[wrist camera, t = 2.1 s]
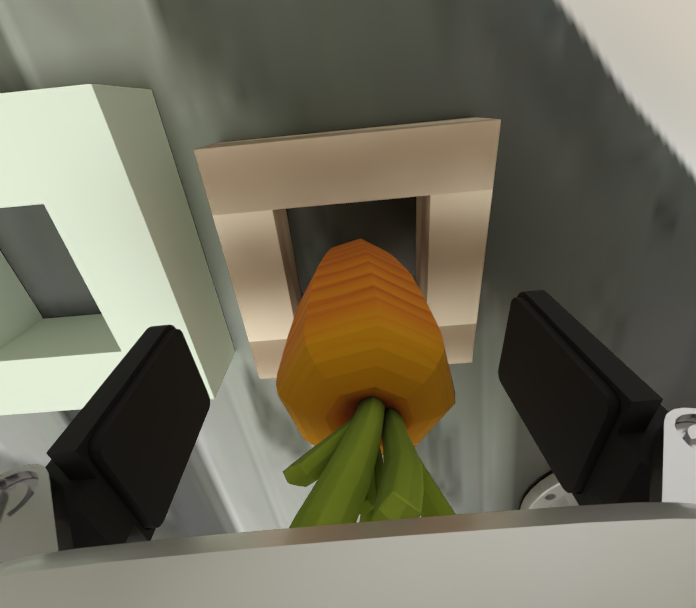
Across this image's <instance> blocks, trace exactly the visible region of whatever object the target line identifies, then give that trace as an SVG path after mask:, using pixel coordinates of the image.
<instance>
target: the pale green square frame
mask: <svg viewBox="0 0 696 608" xmlns="http://www.w3.org/2000/svg"><path fill="white" fill-rule="evenodd" d="M36 204H44V205H45V207H46V209H47V211H48V213H49V215H50V217H51V219H52V220H53V222H54V224H55V226H56V228H57V230H58V232H59V234H60V236H61V237H62V239H63V241H64V243H65V245H66V247H67V249H68V251H69V253H70V254H71V256H72V258H73V260H74V262H75V264H76V266H77V268H78V270H79V272H80V273H81V275H82V277H83V279H84V281H85V283H86V285H87V287H88V289H89V290H90V292H91V294H92V296H93V298H94V300H95V302H96V304H97V306H98V307H99V309H100V311H101V313H102V314H92V315H80V316H69V317H57V318H45V319H43V317H42V316H41V314H40V312H39V311H38V309H37V308H36V306H35V305H34V303H33V301H32V300H31V298H30V297H29V295H28V293H27V292H26V290H25V289H24V287H23V286H22V284H21V282H20V281H19V279H18V278H17V276H16V275H15V273H14V271H13V270H12V268H11V267H10V265H9V264H8V262H7V260H6V259H5V257H4V256H3V254H2V253H1V251H0V415H11V414H24V413H37V412H50V411H63V410H76V409H82V408H83V407H84V406H85V405H86V403H87V402H88V401H89V400H90V398H91V397H92V396H93V395H94V394H95V392H96V391H97V390H98V389H99V387H100V386H101V385H102V384H103V382H104V381H105V380H106V379H107V377H108V376H109V375H110V374H111V373H112V371H113V370H114V369H115V368H116V366H117V365H118V364H119V363H120V361H121V360H122V359H123V358H124V357H125V355H126V354H127V353H128V352H129V350H130V349H131V348H132V347H133V345H134V344H135V343H136V342H137V340H138V339H139V338H140V337H141V336H142V334H143V333H144V332H145V331H146V329H147V328H149V327H151V326H160V325H173V326H174V327H175V328H176V329H180V330H181V331H182V333H183V335H184V337H185V339H186V342H187V344H188V347H189V349H190V351H191V354H192V356H193V358H194V361H195V363H196V366H197V368H198V370H199V373H200V375H201V377H202V380H203V382H204V385H205V387H206V389H207V392H208V394H209V397H210V399H215V397H216V394H217V392H218V390H219V388H220V385H221V383H222V381H223V378H224V376H225V374H226V372H227V369H228V367H229V365H230V362H231V360H232V358H233V356H234V353H235V350H234V346H233V343H232V340H231V337H230V334H229V331H228V328H227V325H226V321H225V318H224V315H223V312H222V309H221V306H220V303H219V300H218V296H217V293H216V290H215V287H214V284H213V281H212V278H211V274H210V271H209V268H208V265H207V262H206V259H205V256H204V253H203V249H202V246H201V243H200V240H199V237H198V234H197V231H196V227H195V224H194V221H193V218H192V215H191V212H190V209H189V206H188V202H187V199H186V196H185V193H184V190H183V187H182V184H181V181H180V177H179V174H178V171H177V168H176V165H175V162H174V159H173V155H172V152H171V149H170V146H169V143H168V140H167V137H166V134H165V130H164V127H163V124H162V121H161V118H160V115H159V112H158V108H157V105H156V102H155V99H154V96H153V93H152V90H151V89H141V88H130V87H120V86H109V85H99V84H84V85H75V86H66V87H56V88H47V89H37V90H28V91H19V92H9V93H0V208H5V207H15V206H26V205H36Z"/></svg>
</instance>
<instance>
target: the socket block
mask: <svg viewBox="0 0 696 608" xmlns="http://www.w3.org/2000/svg"><path fill="white" fill-rule="evenodd" d="M500 124H501V119H490V118H477V117H471V118H461V119H451V120H441V121H431V122H421V123H411V124H401V125H391V126H381V127H371V128H361V129H351V130H341V131H331V132H321V133H311V134H301V135H291V136H281V137H271V138H261V139H251V140H241V141H231V142H221V143H216V144H212V145H209V146H205V147H202V148H198V149H195V150H194V153H195V156H196V160H197V163H198V167H199V170H200V174H201V177H202V181H203V184H204V187H205V191H206V194H207V198H208V201H209V205H210V208H211V212H212V215H213V219H214V222H215V226H216V229H217V233H218V236H219V240H220V243H221V246H222V250H223V253H224V257H225V260H226V264H227V267H228V271H229V274H230V278H231V281H232V285H233V288H234V292H235V295H236V298H237V302H238V305H239V309H240V312H241V316H242V319H243V323H244V326H245V330H246V333H247V337H248V340H249V344H250V347H251V350H252V354H253V357H254V361H255V364H256V368H257V371H258V375H259V378H260V379H265V378H277V373H278V369H279V366H280V362H281V359H282V355H283V352H284V348H285V344H286V341H287V337H288V334H289V331H290V328H291V325H292V322H293V319H294V316H295V313H296V310H297V307H298V305H299V303H300V301H301V299H302V297H301V291H300V285H299V280H298V274H297V269H296V263H295V257H294V252H293V246H292V241H291V235H290V229H289V224H288V218H287V213H286V209H287V208H298V207H309V206H320V205H330V204H341V203H352V202H363V201H373V200H384V199H395V198H406V197H416V268H415V282H416V284H417V286H418V287H419V289H420V291H421V293H422V294H423V296H424V298H425V300H426V302H427V304H428V306H429V308H430V310H431V312H432V314H433V316H434V318H435V320H436V322H437V324H438V326H439V329H440V331H441V334H442V338H443V342H444V346H445V351H446V355H447V360H448V364H458V363H471V362H472V357H473V348H474V340H475V332H476V324H477V315H478V307H479V299H480V290H481V282H482V274H483V266H484V257H485V249H486V241H487V232H488V224H489V216H490V207H491V199H492V191H493V183H494V174H495V166H496V158H497V149H498V141H499V133H500Z"/></svg>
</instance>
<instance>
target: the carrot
mask: <svg viewBox="0 0 696 608" xmlns="http://www.w3.org/2000/svg"><path fill="white" fill-rule="evenodd" d="M276 386H277V391H278V396H279V397H280V399H281V401H282V402H283V404H284V406H285V408H286V409H287V411H288V413H289V414H290V416H291V418H292V420H293V421H294V423H295V425H296V426H297V428H298V430H299V431H300V433H301V435H302V437H303V438H304V439H305V440H306V441H308V442H309V443H311V444H313V445H316V446H314V447H313V448H312V449H310V450H309V451H308V452H307V453H305V454H304V455H303V456H302V457H300V458H299V459H298V460H297V461H295V462H294V463H293V464H292V465H290V466H289V467H288V468H287V469H285V470H284V471H283V473H284V475H285V478H286V480H287V482H288V483H290V484H293V485H297V486H304V487H307V486H308V485H310V484H311V483H313V482H315V481H316V480H318V481H317V482H316V484H315V485H314V487H313V489H312V490H311V492H310V494H309V495H308V497H307V498H306V500H305V502H304V503H303V505H302V507H301V508H300V510H299V511H298V513H297V515H296V516H295V518H294V520H293V522H292V524H291V525H290V527H289V528H300V527H312V526H323V525H335V524H347V523H356V521H357V518H358V516H359V514H361V516H360V522H372V521H384V520H396V519H408V518H419V517H420V515H421V516H422V517H433V516H446V515H456V514H455V513H454V511H453V510H452V508H451V506H450V505H449V503H448V502H447V500H446V499H445V497H444V496H443V494H442V492H441V491H440V489H439V488H438V486H437V485H436V483H435V482H434V480H433V479H432V477H431V475H430V474H429V472H428V471H427V469H426V468H425V466H424V464H423V463H422V461H421V460H420V458H419V456H418V454H417V452H416V449H415V446H416V445H417V444H418V443H419V442H420V441H421V440H422V439H423V438H424V437H425V435H426V434H427V433H428V432H429V431H430V430H431V429H432V428H433V427H434V426H435V425H436V423H437V422H438V421H439V420H440V419H441V418H442V417H443V416H444V415H445V414H446V413H447V411H448V410H449V409H450V408H451V407H452V406H453V405H454V404H455V391H454V386H453V382H452V377H451V373H450V368H449V364H448V360H447V355H446V351H445V346H444V342H443V338H442V334H441V331H440V329H439V326H438V324H437V322H436V320H435V318H434V316H433V314H432V312H431V310H430V308H429V306H428V304H427V302H426V300H425V298H424V296H423V294H422V293H421V291H420V289H419V287H418V286H417V284H416V282H415V280H414V279H413V277H412V275H411V273H410V272H409V271H408V270H407V269H406V268H405V267H404V266H403V265H402V264H401V263H400V262H399V261H398V260H397V259H396V258H395V257H394V256H392V255H391V254H390V253H389V252H387V251H385V250H383V249H381V248H379V247H377V246H375V245H373V244H371V243H369V242H367V241H365V240H363V239H357V240H353V241H350V242H347V243H344V244H341V245H338V246H335V247H332V248H330V250H329V251H328V252H327V253H326V254H325V256H324V257H323V259H322V261H321V262H320V264H319V266H318V267H317V269H316V271H315V273H314V275H313V277H312V279H311V281H310V283H309V285H308V287H307V289H306V291H305V293H304V295H303V297H302V299H301V301H300V303H299V305H298V307H297V310H296V313H295V316H294V319H293V322H292V325H291V328H290V331H289V334H288V337H287V341H286V344H285V348H284V352H283V355H282V359H281V362H280V366H279V369H278V373H277V381H276ZM382 455H383V458H382ZM383 459H384V463H383ZM360 522H359V523H360Z"/></svg>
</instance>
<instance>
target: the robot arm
mask: <svg viewBox="0 0 696 608" xmlns="http://www.w3.org/2000/svg"><path fill="white" fill-rule="evenodd" d="M498 374H499V379H500V382H501V384H502V386H503V387H504V389H505V391H506V392H507V394H508V396H509V398H510V399H511V401H512V403H513V404H514V406H515V408H516V410H517V411H518V413H519V415H520V416H521V418H522V420H523V422H524V423H525V425H526V427H527V428H528V430H529V432H530V434H531V435H532V437H533V439H534V440H535V442H536V444H537V445H538V447H539V449H540V451H541V452H542V454H543V456H544V457H545V459H546V461H547V463H548V464H549V466H550V468H551V469H552V471H553V473H552V474H550V475H549V476H547V477H546V478H544V479H543V480H541V481H540V482H539V483H538V484H536V485H535V486H534V487H533V488H532V489H531V490H530V491H529V493H528V494H527V495H526V496H525V498H524V500H523V502H522V505H521V508H520V510H511V511H498V512H485V513H472V514H459V515H446V516H433V517H421V518H408V519H396V520H384V521H372V522H360V523H347V524H335V525H323V526H312V527H300V528H288V529H276V530H264V531H253V532H242V533H230V534H219V535H208V536H196V537H185V538H174V539H162V540H152V541H150V540H151V538H152V536H153V533H154V531H155V528H157V527H159V526H161V524H162V523H163V521H164V519H165V517H166V514H167V512H168V509H169V507H170V504H171V502H172V499H173V497H174V494H175V492H176V489H177V487H178V484H179V482H180V479H181V477H182V475H183V472H184V470H185V467H186V465H187V462H188V460H189V457H190V455H191V452H192V450H193V447H194V445H195V442H196V440H197V437H198V435H199V432H200V430H201V427H202V425H203V422H204V420H205V417H206V415H207V412H208V410H209V407H210V397H209V394H208V392H207V389H206V387H205V385H204V382H203V380H202V377H201V375H200V373H199V370H198V368H197V366H196V363H195V361H194V358H193V356H192V354H191V351H190V349H189V347H188V344H187V342H186V339H185V337H184V335H183V333H182V331H181V330H180V329H176V328H175V327H174V326H173V325H160V326H151V327H149V328H147V329H146V331H145V332H144V333H143V334H142V336H141V337H140V338H139V339H138V340H137V342H136V343H135V344H134V345H133V347H132V348H131V349H130V350H129V352H128V353H127V354H126V355H125V357H124V358H123V359H122V360H121V361H120V363H119V364H118V365H117V366H116V368H115V369H114V370H113V371H112V373H111V374H110V375H109V376H108V377H107V379H106V380H105V381H104V382H103V384H102V385H101V386H100V387H99V389H98V390H97V391H96V392H95V394H94V395H93V396H92V397H91V398H90V400H89V401H88V402H87V403H86V405H85V406H84V407H83V408H82V410H81V411H80V412H79V413H78V414H77V416H76V417H75V418H74V419H73V421H72V422H71V423H70V424H69V426H68V427H67V428H66V429H65V431H64V432H63V433H62V434H61V435H60V437H59V438H58V439H57V440H56V442H55V443H54V444H53V445H52V447H51V448H50V449H49V450H48V451H47V454H48V456H49V457H50V458H51V459H52V460H51V461H50V462H49V463H48V465H47V466H46V467H44V466H41V465H39V464H28V465H25V466H21V467H17V468H14V469H12V470H10V471H8V472H5V473H3V474H1V475H0V608H696V408H678V409H673V410H672V411H670V412H668V411H667V410H666V409H665V408H664V407H663V406H662V405H661V402H662V400H663V399H662V398H661V397H660V396H659V395H658V394H657V393H656V392H655V391H653V390H652V389H651V388H650V387H649V386H648V385H647V384H646V383H645V382H644V381H643V380H641V379H640V378H639V377H638V376H637V375H636V374H635V373H634V372H633V371H632V370H631V369H629V368H628V367H627V366H626V365H625V364H624V363H623V362H622V361H621V360H620V359H619V358H617V357H616V356H615V355H614V354H613V353H612V352H611V351H610V350H609V349H608V348H607V347H605V346H604V345H603V344H602V343H601V342H600V341H599V340H598V339H597V338H596V337H595V336H593V335H592V334H591V333H590V332H589V331H588V330H587V329H586V328H585V327H584V326H583V325H581V324H580V323H579V322H578V321H577V320H576V319H575V318H574V317H573V316H572V315H571V314H569V313H568V312H567V311H566V310H565V309H564V308H563V307H562V306H561V305H560V304H559V303H557V302H556V301H555V300H554V299H553V298H552V297H551V296H550V295H549V294H548V293H547V292H545V291H544V290H538V291H527V292H521V293H519V295H518V296H517V298H513V300H512V302H511V306H510V311H509V317H508V322H507V327H506V333H505V338H504V343H503V348H502V354H501V359H500V364H499V370H498Z"/></svg>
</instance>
